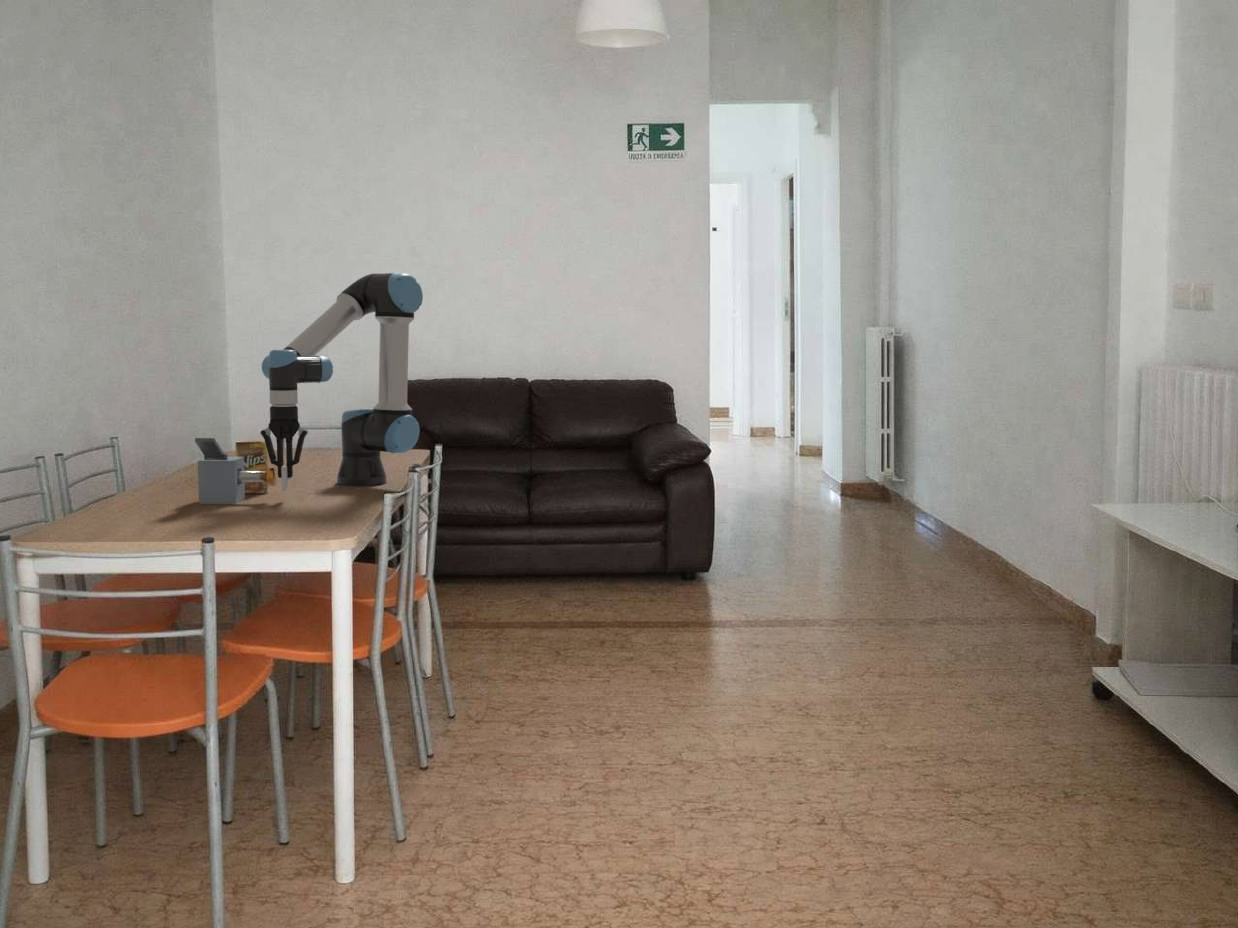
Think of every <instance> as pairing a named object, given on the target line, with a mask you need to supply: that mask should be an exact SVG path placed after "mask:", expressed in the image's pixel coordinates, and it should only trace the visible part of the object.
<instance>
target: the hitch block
mask: <svg viewBox="0 0 1238 928" xmlns="http://www.w3.org/2000/svg"><path fill="white" fill-rule="evenodd" d="M237 471H244V457H236V456H228V459H227V460H204V457H203V458H201V459H198V460H197V480H198V481H197V483H198V485H197V486H198V487H197V488H198V504H199V505H205V504H206V505H236V504H239V503H240V502H241V501H244V500H246V493H245V482H238V475H237Z"/></svg>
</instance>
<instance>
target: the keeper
mask: <svg viewBox="0 0 1238 928" xmlns="http://www.w3.org/2000/svg"><path fill="white" fill-rule="evenodd" d="M194 443H195V444H196V446H198V449H199V451H201V453H202V454H203V458H204V460H227V459H228V457H229V455H228V453H224V451H223V449H222V448H221V446H220V445H219V443H218V442H217V440H216V439H215V437H195V440H194Z"/></svg>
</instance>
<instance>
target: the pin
mask: <svg viewBox="0 0 1238 928" xmlns="http://www.w3.org/2000/svg"><path fill="white" fill-rule="evenodd" d="M237 475H238V482H266V485H267V486H268V487H275V486H276V485H277V480H278V470H277V468H276V467H269V466H267V468H266V471H237Z"/></svg>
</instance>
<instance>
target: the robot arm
mask: <svg viewBox="0 0 1238 928" xmlns="http://www.w3.org/2000/svg"><path fill="white" fill-rule="evenodd" d="M423 297H424V296H423V290H422V287H421V285H420V283H419V282H418V281H417V278H416V277H414V276H413V275H411V274H408V273H402V272H394V273H393V272H392V273H388V272H387V273H370V274H367V275H364V276H363V277H360V278H358V279H357V280H356V281H354V282H352V283H351V284H350V285H348V286H347V287H346V288H345V289H344V290H342V291H341V293H339V294H338V295H337V297H336V301H335V303H333V304H332V305H331V306H330V307H329V308H327V310H325V311H324V313H322V314H321V315H319V317H318V318H316V319H315V320H314V321H313V322H312V323H311V324H310V325H309V326H307V328H305V329H304V330H303V331H302V332H300V334H299V335H298V336H297V337H295V338H294V339H293V340H292V341H291V342H290V343H289V344H287V345H286V346H285V347H284V348H283V349H272V350H270V351H269V352H268V353H269V354H268V355H266V356H264V358H263V360H262V362H261V370H262V373H263V375H264V378H266V379H268V381H269V404H270V405H271V406H270V407H269V424H268V426H267V427H266V428H265V429H262V430H261V431H260V434H261V436H262V438H263V440H265V443H266V447H267V455H268V457H269V461H270V464H271V465H275V466H276V467H277V478H279V479H281V491H288V490H290V479H291V478H293V476H294V475H293V474H294V472H293V466H295V465H297V464H299V463H300V460H301V456H302V451H303V446H304V442H305V439H306V436H307V435H308V434H309V431H308V430H307V429H304V428H303V427H301V425H300V423H299V408H298V406H297V404H298V403H299V402H298V401H299V400H298V384H313V383H317V384H320V383H324V382H328V381H330V380H331V378H332V376H333V373H334V369H333V368H334V366H333V363H332V360H331V359H330V358H329V357H327V356H324V355H318V354H319V353H320V352H321V351H322V350H323V349H324V348H325V347H326V346H327V345H328V344H329V343H331V342H332V341H333V340H335V338H337V336H338V335H340V333H341V332H343V331H344V330H345V329H346V328H347V327H348V326H349V325H350V324H351V323H353V322H355V321H360V319H362V318H363V317H364V316H366V315H368V314H372V313H375V314H374V316H375V319H376V320H377V321H378V323H379V360H378V362H379V365H378V366H379V367H378V402H377V404H376V405H374V406H373V408H361V409H353V410H345V411H344V412H343V413H342V415H341V423H340V425H341V426H340V427H341V447H342V448H341V450H342V451H341V453H342V454H341V455H342V459H341V463H340V465H339V469H338V472H337V476H336V484H338V485H341V486H378V485H382V484H386V483H387V474H386V471H385V467H384V464H383V461H382V458H381V452H382V453H390V454H404V453H407V452H409V451H411V450H412V449H413V447H414V446H416V444H417V442H418V440H419V437H420V431H421V430H420V424H419V422H418V420H417V419H416V418H415V416H413V408H412V407H411V406H410V405H409V404H408V379H409V378H408V376H409V373H408V372H409V336H410V333H409V331H410V324H411V323H412V322H413V321H414V319H415V313H416V312H417V311H419V310H420V307H421V306H422V304H423ZM297 432H298V433H297ZM271 433H272V435H274V437H275V438H276V440H275V441H276V452H275V449H274V445H273V440H272V437H271ZM296 434H297V435H298V439H297V443H296V447H295V452H294V454H293V451H294V450H293V439H294V438H293V437H295V435H296ZM284 440H285V446H286V447H285V452H286V456H285V457H286V459H285V460H286V464H285V462H284ZM293 455H294V456H293Z"/></svg>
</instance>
